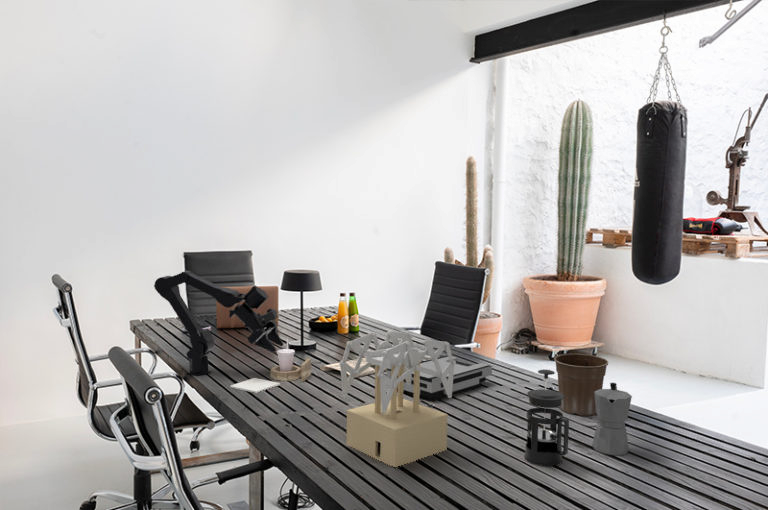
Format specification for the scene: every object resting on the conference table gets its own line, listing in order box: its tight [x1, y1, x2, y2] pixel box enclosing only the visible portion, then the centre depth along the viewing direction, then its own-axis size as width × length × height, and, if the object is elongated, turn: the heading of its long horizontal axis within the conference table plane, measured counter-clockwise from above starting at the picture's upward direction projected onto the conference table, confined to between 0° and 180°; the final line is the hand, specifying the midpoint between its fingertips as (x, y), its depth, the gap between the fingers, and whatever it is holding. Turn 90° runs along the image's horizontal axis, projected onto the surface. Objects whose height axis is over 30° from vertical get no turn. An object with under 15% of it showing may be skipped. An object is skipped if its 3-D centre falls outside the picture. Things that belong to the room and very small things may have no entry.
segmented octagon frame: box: [270, 357, 312, 382], centre depth 242 cm, size 13×10×6 cm
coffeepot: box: [591, 382, 633, 456], centre depth 177 cm, size 15×9×18 cm, turn 159°
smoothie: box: [276, 338, 296, 372], centre depth 242 cm, size 6×6×14 cm
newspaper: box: [320, 356, 422, 379], centre depth 259 cm, size 37×19×3 cm, turn 133°
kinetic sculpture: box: [339, 330, 456, 468], centre depth 175 cm, size 25×20×30 cm
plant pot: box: [553, 353, 609, 416], centre depth 208 cm, size 16×16×16 cm
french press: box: [524, 369, 570, 467], centre depth 168 cm, size 12×9×23 cm
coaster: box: [229, 377, 281, 394], centre depth 230 cm, size 12×12×1 cm
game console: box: [385, 354, 493, 402], centre depth 232 cm, size 21×32×8 cm, turn 134°
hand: (279, 348), depth 242 cm, fingers open, 9 cm apart
